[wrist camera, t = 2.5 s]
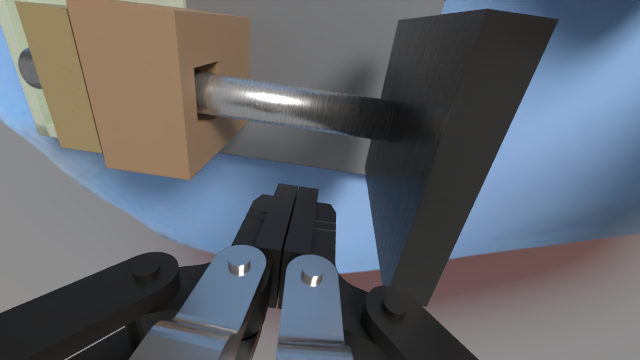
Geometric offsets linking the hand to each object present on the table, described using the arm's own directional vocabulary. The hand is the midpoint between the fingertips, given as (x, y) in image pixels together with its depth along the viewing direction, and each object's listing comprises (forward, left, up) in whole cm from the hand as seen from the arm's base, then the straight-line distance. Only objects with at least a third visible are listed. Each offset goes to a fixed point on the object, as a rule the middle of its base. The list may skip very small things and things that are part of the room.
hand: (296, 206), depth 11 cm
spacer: (+11, -3, -9) cm, 14 cm away
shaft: (+4, -2, -9) cm, 10 cm away
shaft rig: (+7, -2, -13) cm, 15 cm away
